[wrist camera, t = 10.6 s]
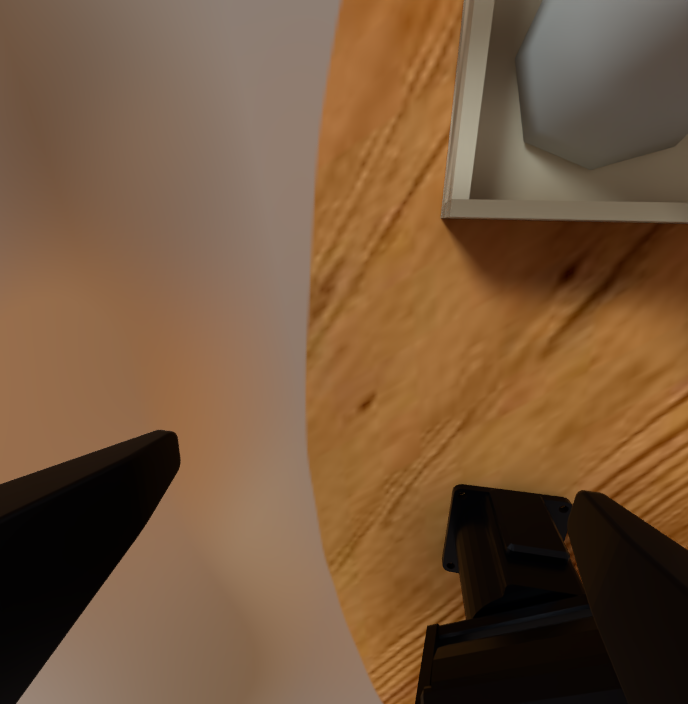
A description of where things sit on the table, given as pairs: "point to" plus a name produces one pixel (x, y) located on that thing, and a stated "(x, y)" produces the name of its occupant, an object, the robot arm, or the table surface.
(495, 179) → the crate
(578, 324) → the table surface
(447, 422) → the table surface
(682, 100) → the flask
